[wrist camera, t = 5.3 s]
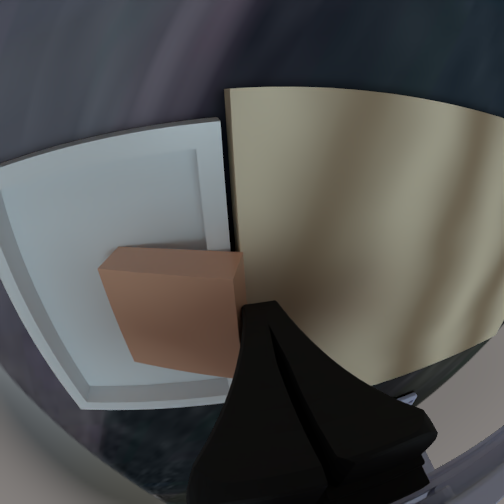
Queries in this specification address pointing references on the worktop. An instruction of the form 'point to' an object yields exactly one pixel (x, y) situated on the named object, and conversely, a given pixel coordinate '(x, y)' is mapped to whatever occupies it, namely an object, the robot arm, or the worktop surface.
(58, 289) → the tray
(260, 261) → the chopping board
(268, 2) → the worktop surface
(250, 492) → the robot arm
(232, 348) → the terracotta tile
